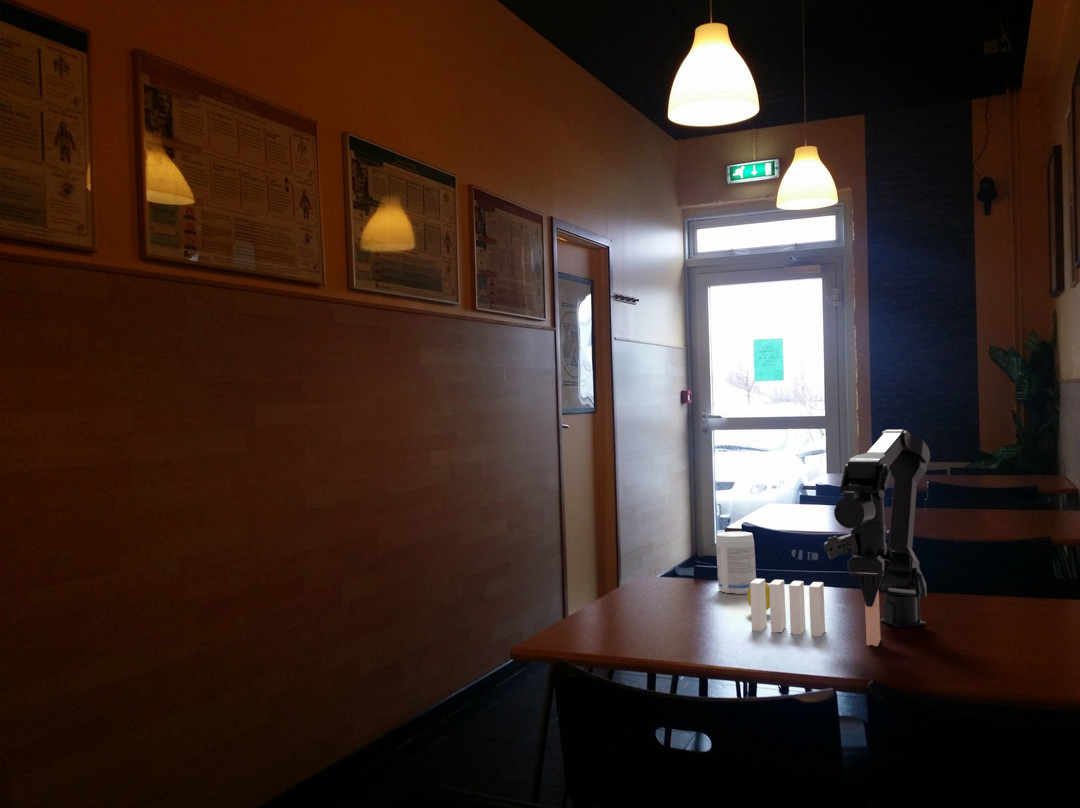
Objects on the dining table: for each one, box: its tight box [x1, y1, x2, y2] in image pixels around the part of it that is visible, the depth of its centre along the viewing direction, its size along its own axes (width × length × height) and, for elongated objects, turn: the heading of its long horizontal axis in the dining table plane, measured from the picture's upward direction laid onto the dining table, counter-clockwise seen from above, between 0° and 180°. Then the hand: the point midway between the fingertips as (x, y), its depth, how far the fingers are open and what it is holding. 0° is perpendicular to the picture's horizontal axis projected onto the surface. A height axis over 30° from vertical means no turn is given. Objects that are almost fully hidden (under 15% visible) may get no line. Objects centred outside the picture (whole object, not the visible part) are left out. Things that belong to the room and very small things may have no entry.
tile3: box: [788, 580, 806, 635], centre depth 178 cm, size 2×5×10 cm, turn 153°
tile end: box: [750, 578, 768, 632], centre depth 182 cm, size 2×5×10 cm, turn 152°
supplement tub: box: [715, 531, 757, 595], centre depth 219 cm, size 10×10×15 cm
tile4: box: [768, 579, 787, 633], centre depth 180 cm, size 2×5×10 cm, turn 152°
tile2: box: [808, 581, 826, 637], centre depth 176 cm, size 2×5×10 cm, turn 152°
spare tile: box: [864, 589, 882, 647], centre depth 168 cm, size 2×5×10 cm, turn 152°
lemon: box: [746, 581, 770, 611], centre depth 194 cm, size 6×6×8 cm
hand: (872, 601), depth 168 cm, fingers open, 9 cm apart
